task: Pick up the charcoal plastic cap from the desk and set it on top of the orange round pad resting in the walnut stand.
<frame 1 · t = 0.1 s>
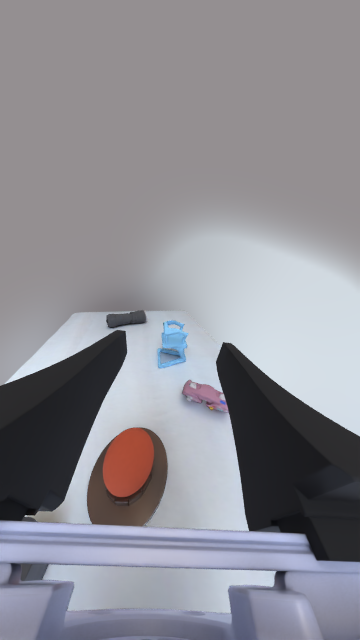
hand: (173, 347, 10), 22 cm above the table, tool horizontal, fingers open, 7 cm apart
ball stand: (131, 471, 19), on the table
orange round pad: (130, 457, 17), point 4 cm above the table, touching ball stand
pink toy car: (203, 402, 29), on the table
chair: (171, 358, 41), on the table
cap: (14, 579, 12), on the table
flashlight: (128, 324, 57), on the table
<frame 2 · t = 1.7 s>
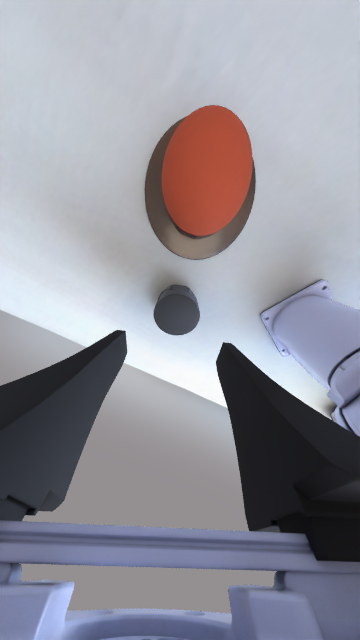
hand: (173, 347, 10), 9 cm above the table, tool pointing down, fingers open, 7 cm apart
ball stand: (198, 202, 13), on the table
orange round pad: (204, 185, 9), point 4 cm above the table, touching ball stand
cap: (177, 303, 18), on the table
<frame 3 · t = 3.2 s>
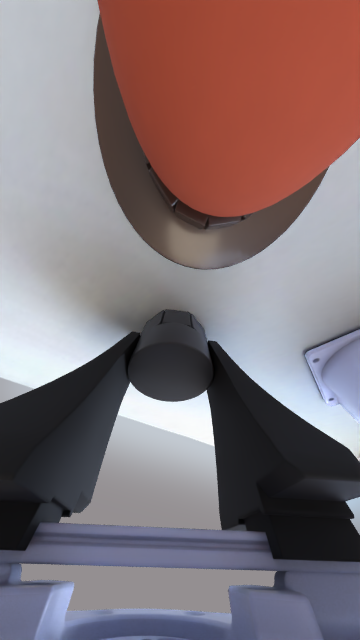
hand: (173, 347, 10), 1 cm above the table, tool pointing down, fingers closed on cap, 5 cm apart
ball stand: (214, 153, 6), on the table
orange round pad: (257, 26, 3), point 4 cm above the table, touching ball stand
cap: (174, 336, 11), on the table, touching gripper
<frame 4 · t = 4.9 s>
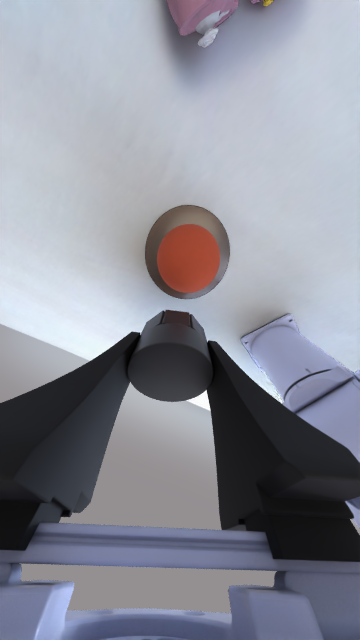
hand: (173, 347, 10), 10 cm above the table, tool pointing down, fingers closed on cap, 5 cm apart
ball stand: (186, 258, 17), on the table
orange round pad: (188, 261, 13), point 4 cm above the table, touching ball stand
pink toy car: (236, 0, 9), on the table
cap: (174, 336, 11), point 9 cm above the table, touching gripper
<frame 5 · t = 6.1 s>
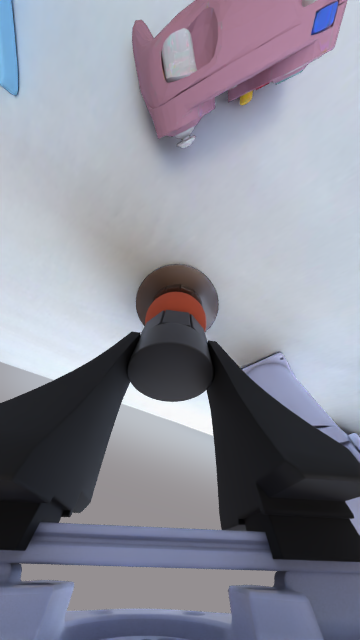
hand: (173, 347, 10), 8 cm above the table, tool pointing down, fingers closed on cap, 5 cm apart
ball stand: (177, 306, 17), on the table
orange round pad: (175, 322, 13), point 4 cm above the table, touching ball stand
pink toy car: (215, 95, 9), on the table
cap: (174, 336, 11), point 7 cm above the table, touching gripper
when the fingers open (8 cm above the table, at t = 6.6 s): cap stays where it is, resting on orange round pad.
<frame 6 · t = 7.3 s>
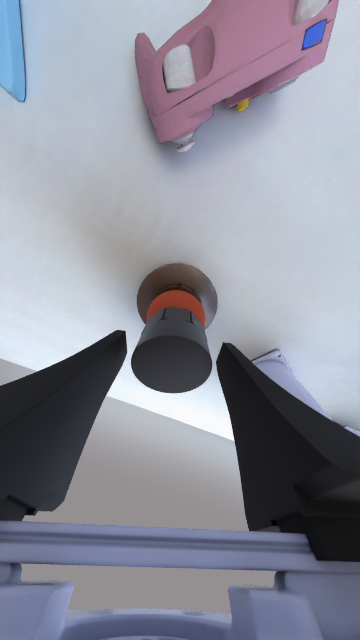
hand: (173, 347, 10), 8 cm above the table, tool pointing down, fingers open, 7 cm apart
ball stand: (177, 304, 17), on the table
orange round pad: (176, 319, 14), point 4 cm above the table, touching ball stand, cap
pink toy car: (213, 102, 10), on the table
cap: (174, 332, 12), point 6 cm above the table, touching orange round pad
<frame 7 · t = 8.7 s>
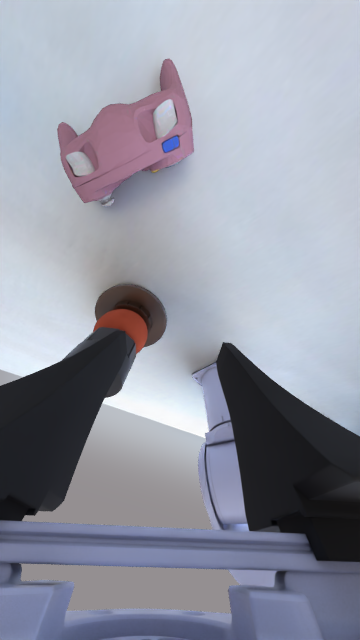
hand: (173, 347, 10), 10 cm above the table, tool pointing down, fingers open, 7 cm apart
ball stand: (133, 318, 20), on the table
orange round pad: (122, 333, 16), point 4 cm above the table, touching ball stand, cap
pink toy car: (135, 162, 12), on the table
cap: (113, 346, 14), point 6 cm above the table, touching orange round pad
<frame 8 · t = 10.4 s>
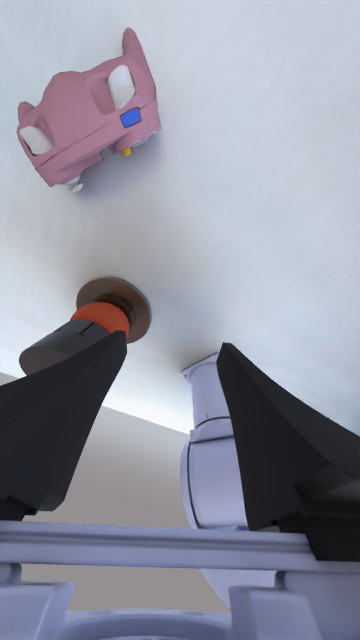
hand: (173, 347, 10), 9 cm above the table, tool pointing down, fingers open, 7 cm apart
ball stand: (116, 313, 19), on the table
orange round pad: (101, 327, 16), point 4 cm above the table, touching ball stand, cap
pink toy car: (108, 146, 12), on the table
cap: (89, 340, 13), point 6 cm above the table, touching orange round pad
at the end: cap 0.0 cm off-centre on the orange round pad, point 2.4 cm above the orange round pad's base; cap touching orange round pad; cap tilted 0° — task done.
